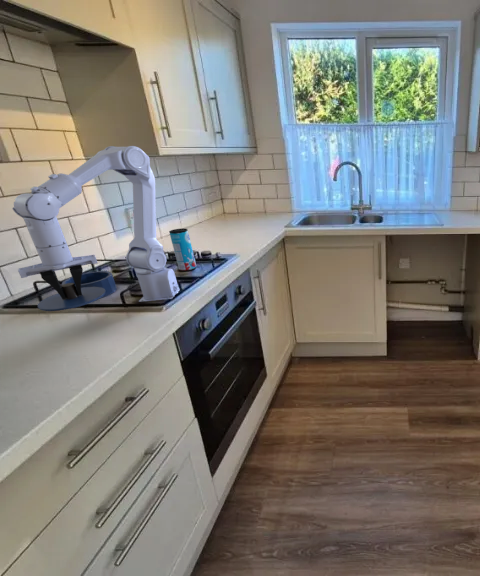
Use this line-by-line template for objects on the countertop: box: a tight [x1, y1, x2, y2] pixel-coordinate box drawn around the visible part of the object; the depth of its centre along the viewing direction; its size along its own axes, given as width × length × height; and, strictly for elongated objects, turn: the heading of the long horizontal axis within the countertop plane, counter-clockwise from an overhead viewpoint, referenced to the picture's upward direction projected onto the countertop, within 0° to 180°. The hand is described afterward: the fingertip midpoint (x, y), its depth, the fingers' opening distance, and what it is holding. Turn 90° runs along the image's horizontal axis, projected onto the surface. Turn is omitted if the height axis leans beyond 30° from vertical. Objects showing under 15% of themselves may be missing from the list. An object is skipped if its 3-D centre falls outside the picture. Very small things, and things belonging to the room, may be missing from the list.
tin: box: [61, 269, 118, 299], centre depth 116 cm, size 13×18×5 cm
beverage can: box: [168, 228, 197, 272], centre depth 133 cm, size 6×6×15 cm
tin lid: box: [37, 283, 106, 312], centre depth 91 cm, size 14×14×5 cm
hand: (72, 296), depth 92 cm, fingers closed on tin lid, 2 cm apart
